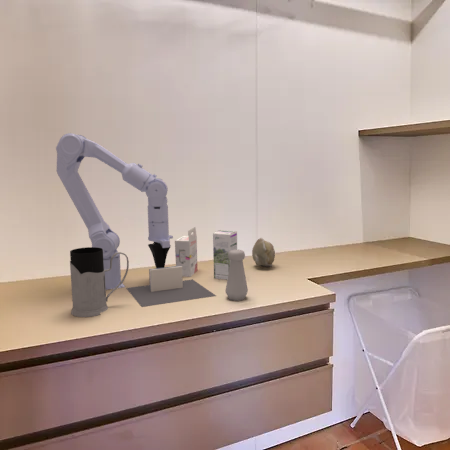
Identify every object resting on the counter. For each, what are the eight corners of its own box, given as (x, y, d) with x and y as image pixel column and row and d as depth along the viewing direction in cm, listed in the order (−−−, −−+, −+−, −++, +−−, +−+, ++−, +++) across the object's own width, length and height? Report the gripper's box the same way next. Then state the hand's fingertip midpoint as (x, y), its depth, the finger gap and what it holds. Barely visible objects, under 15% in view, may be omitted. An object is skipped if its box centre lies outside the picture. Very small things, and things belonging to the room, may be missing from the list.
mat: (141, 308, 110) (141, 306, 110) (126, 289, 126) (126, 288, 126) (216, 297, 118) (216, 295, 118) (192, 280, 134) (192, 279, 134)
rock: (262, 272, 143) (262, 241, 142) (244, 267, 150) (244, 238, 148) (282, 267, 150) (282, 237, 148) (263, 262, 156) (263, 234, 154)
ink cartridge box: (183, 270, 146) (182, 226, 144) (197, 271, 145) (196, 226, 143) (175, 277, 138) (173, 230, 136) (190, 278, 137) (189, 230, 135)
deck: (151, 291, 122) (150, 270, 121) (149, 290, 123) (149, 269, 123) (182, 287, 126) (182, 266, 125) (180, 286, 127) (180, 265, 126)
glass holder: (69, 307, 111) (65, 248, 109) (126, 300, 116) (124, 243, 114) (72, 319, 103) (68, 255, 101) (134, 310, 109) (131, 249, 106)
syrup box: (238, 276, 138) (237, 230, 136) (230, 281, 133) (229, 233, 130) (221, 275, 140) (220, 229, 138) (213, 279, 135) (212, 232, 133)
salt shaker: (240, 304, 112) (240, 253, 110) (221, 300, 115) (220, 251, 113) (251, 298, 117) (251, 249, 115) (233, 294, 120) (232, 247, 118)
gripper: (179, 223, 122) (181, 272, 124) (164, 217, 135) (166, 261, 137) (154, 225, 119) (156, 275, 121) (141, 219, 133) (143, 264, 135)
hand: (160, 268), depth 129 cm, fingers closed
